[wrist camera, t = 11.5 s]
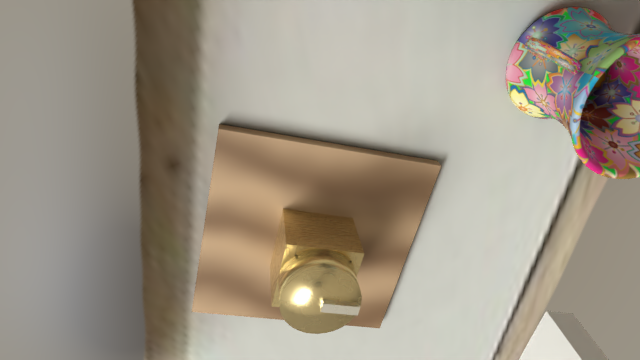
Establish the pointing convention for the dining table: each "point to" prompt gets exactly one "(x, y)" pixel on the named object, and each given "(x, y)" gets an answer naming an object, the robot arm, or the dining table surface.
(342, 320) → the knob
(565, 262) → the dining table surface
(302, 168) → the plate
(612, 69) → the mug
